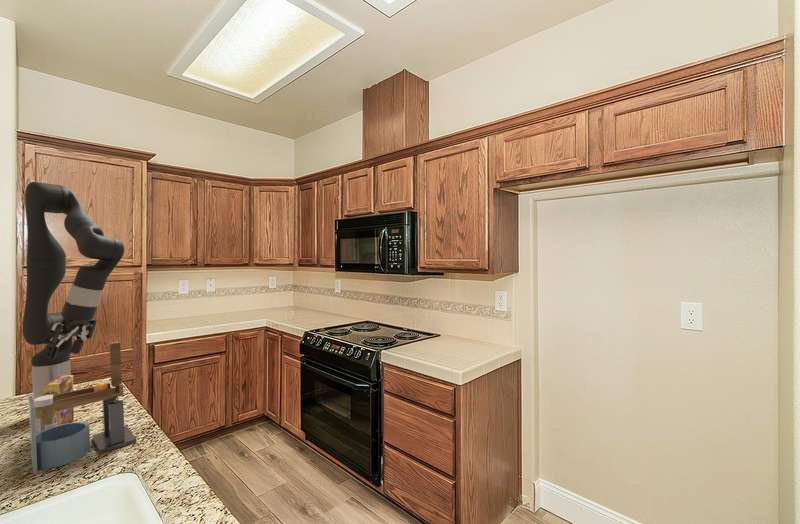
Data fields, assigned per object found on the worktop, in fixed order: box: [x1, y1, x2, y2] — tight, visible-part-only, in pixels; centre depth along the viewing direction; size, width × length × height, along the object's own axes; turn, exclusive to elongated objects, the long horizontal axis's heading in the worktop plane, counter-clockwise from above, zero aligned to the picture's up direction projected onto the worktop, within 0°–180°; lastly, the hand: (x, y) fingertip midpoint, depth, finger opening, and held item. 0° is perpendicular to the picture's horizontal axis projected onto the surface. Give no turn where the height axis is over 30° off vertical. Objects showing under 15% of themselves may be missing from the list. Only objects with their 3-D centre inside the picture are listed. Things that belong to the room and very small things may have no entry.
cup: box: [27, 395, 91, 475], centre depth 97 cm, size 11×11×16 cm
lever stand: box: [91, 397, 137, 455], centre depth 105 cm, size 12×8×13 cm, turn 47°
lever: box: [53, 341, 125, 412], centre depth 101 cm, size 6×14×16 cm, turn 137°
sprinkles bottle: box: [34, 395, 57, 434], centre depth 103 cm, size 5×5×14 cm
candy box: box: [43, 374, 75, 426], centre depth 112 cm, size 9×4×15 cm, turn 20°
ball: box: [93, 382, 108, 392], centre depth 103 cm, size 3×3×3 cm
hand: (62, 356), depth 108 cm, fingers open, 8 cm apart
